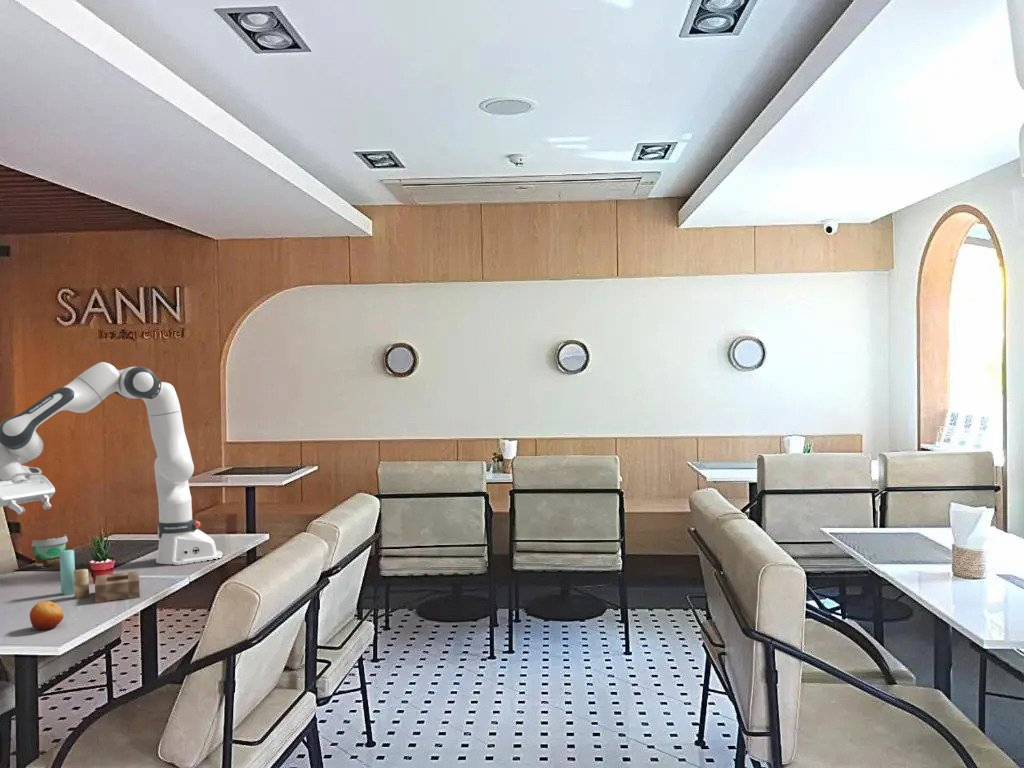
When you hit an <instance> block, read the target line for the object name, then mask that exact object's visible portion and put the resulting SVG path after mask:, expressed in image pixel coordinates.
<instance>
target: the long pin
mask: <svg viewBox="0 0 1024 768" xmlns="http://www.w3.org/2000/svg"><path fill="white" fill-rule="evenodd" d="M75 566H76V565H75V550H74V549H65V550H64V551H60V566H59V570H60V574H59V575H60V592H61V593H60V594H64V595H63V596H69V595H68V594H70V595H73V593H74V571H75V570H76V567H75Z"/></svg>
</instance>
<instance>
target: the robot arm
mask: <svg viewBox="0 0 1024 768" xmlns="http://www.w3.org/2000/svg"><path fill="white" fill-rule="evenodd" d="M113 393H114V394H116V395H118V396H119V397H122V398H125V399H130V400H131V399H132V400H133V399H134V400H136V399H141V400H142V401H143V402H144V404H145V406H146V410H147V411H146V412H147V417H148V423H149V424H148V425H149V429H150V436H151V440H152V442H153V446H154V448H155V452H156V458H155V460H154V463H153V465H154V477H155V478H154V479H155V485H156V486H155V487H156V493H157V500H158V523H157V536H158V549H157V555H156V559H155V563H156V564H160V565H172V564H173V566H181V564H182V565H187V564H188V563H189V564H195V563H201V561H202V562H208V561H207V560H209V561H214V560H213V559H216V560H219V559H218V558H220V559H222V558H223V557H222V555H223V554H224V553H223V552H222V551H221V550H218V549H217V547H216V542H215V540H214V539H213V538H212V537H211V536H210V535H208V534H207V533H205V532H203V531H202V530H201V529H199V528H200V527H201V522H200V521H198V520H197V519H194V518H193V507H192V506H193V505H192V501H193V500H192V495H191V491H190V483H189V480H190V478H191V477H192V476H193V474H194V471H195V465H194V462H193V458H192V453H191V449H190V447H189V442H188V438H187V435H186V433H185V426H184V421H183V415H182V409H181V404H180V400H179V397H178V394H177V391H176V390H175V387H174V386H173V385H172V384H171V383H169V382H165V381H161V380H160V379H159V378H158V377H157V375H156V374H155V373H154V372H153V371H152V370H151V369H149V368H148V367H146V366H130V367H129V366H128V367H125V368H121V369H117V367H115V366H114V365H113V364H111V363H108V362H104V361H101V362H98V363H96V364H95V365H92V366H91V367H89V368H88V369H85V370H84V371H83V372H82V373H80V374H79V375H78V376H77V377H75V378H74V379H73V380H71V382H69V383H68V384H66V385H64V386H62V387H59V388H56V389H54V390H52V392H50V393H48V394H46V395H45V396H44V397H42V398H41V399H39V400H38V401H36V402H35V403H33V404H32V405H31V406H28V408H26V409H25V410H23V411H22V412H20V413H17V414H15V415H13V416H9V417H8V418H6V419H4V420H3V421H2V422H1V423H0V508H3V507H8V508H9V509H11V510H13V511H15V512H16V514H18V515H23V514H25V512H26V509H25V508H24V506H20V505H21V504H27V503H31V502H32V503H33V502H39V501H40V502H42V503H43V505H42V509H44V510H45V511H46V510H50V509H51V508H52V504H51V503H50V500H51V498H52V497H53V496H54V494H55V493H56V488H55V486H54V484H52V483H51V481H50V480H49V479H48V477H46V476H45V475H44V474H42V473H43V471H42V469H40V468H38V467H33V466H32V467H31V466H27V465H25V464H27V463H29V462H32V461H34V460H36V459H37V458H39V456H40V455H42V453H43V451H44V448H45V444H44V441H43V439H42V438H41V435H39V433H37V428H38V427H39V426H40V425H42V424H43V423H44V422H46V421H47V420H49V419H51V417H53V416H54V415H56V414H57V413H59V412H61V411H69V412H72V413H75V414H76V413H77V414H85V413H88V412H90V411H91V410H93V409H94V408H96V407H97V406H98V405H99V404H100V403H101V402H103V401H104V400H105V399H106V398H107V397H108V396H110V395H111V394H113ZM221 557H222V558H221ZM194 562H195V563H194Z"/></svg>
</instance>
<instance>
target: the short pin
mask: <svg viewBox="0 0 1024 768" xmlns="http://www.w3.org/2000/svg"><path fill="white" fill-rule="evenodd" d="M89 576H90V575H89V569H88V568H81V569H80V568H79V569H75V571H74V599H76V598H80V599H86V598H89V597H90V582H89V580H90V578H89Z"/></svg>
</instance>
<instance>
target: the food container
mask: <svg viewBox="0 0 1024 768" xmlns="http://www.w3.org/2000/svg"><path fill="white" fill-rule="evenodd" d="M68 541H69V540H68V536H67V535H66V534H64V533H63V536H60V537H55V538H54V537H53V538H46V539H38V540H37V539H32V542H31V547H32V548H33V553H34V560H35V561H34V562H35V565H36V567H52V568H54V567H53V566H58V565H60V551H64V550H66V546H67V545H66V544H67V542H68ZM58 567H59V566H58Z"/></svg>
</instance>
